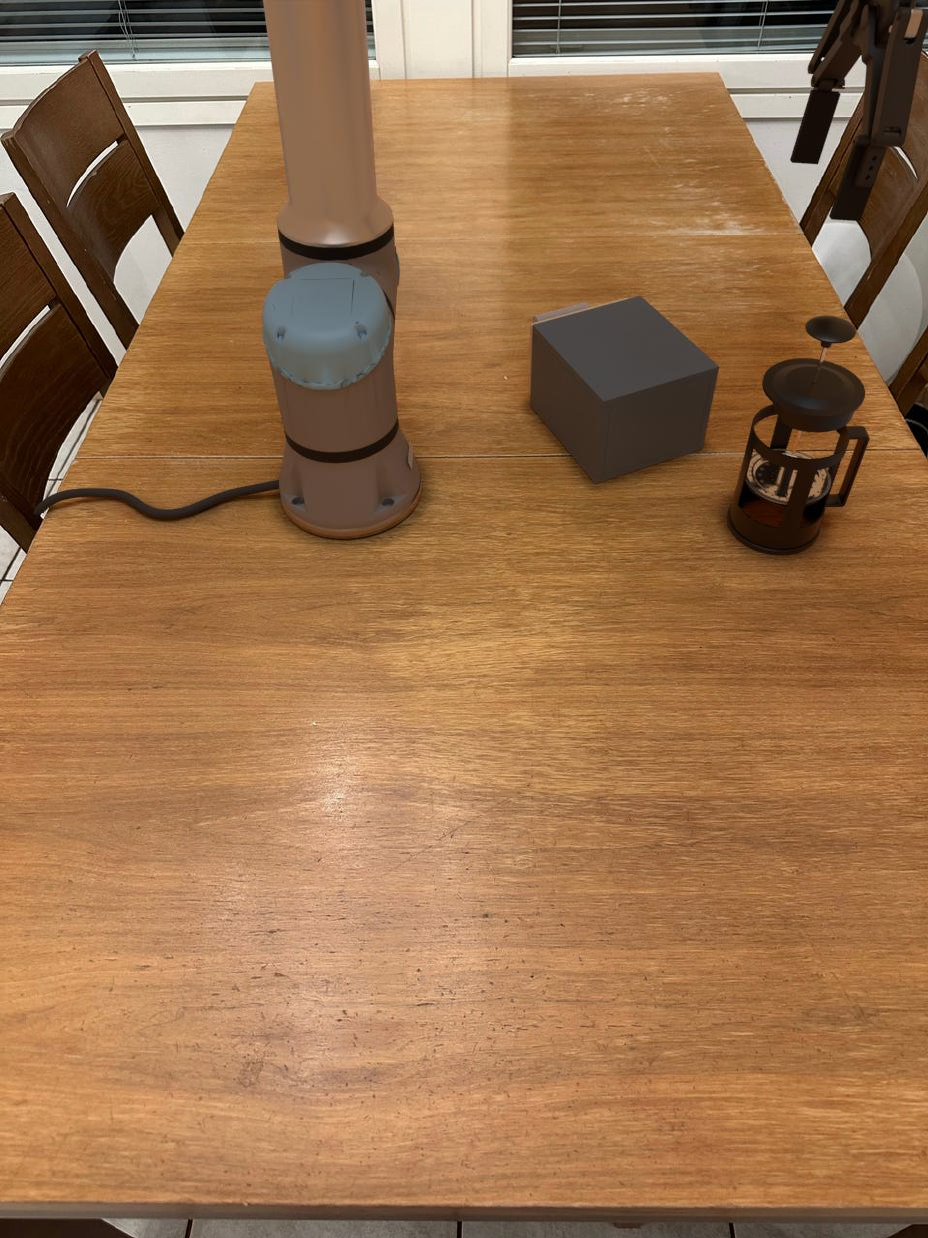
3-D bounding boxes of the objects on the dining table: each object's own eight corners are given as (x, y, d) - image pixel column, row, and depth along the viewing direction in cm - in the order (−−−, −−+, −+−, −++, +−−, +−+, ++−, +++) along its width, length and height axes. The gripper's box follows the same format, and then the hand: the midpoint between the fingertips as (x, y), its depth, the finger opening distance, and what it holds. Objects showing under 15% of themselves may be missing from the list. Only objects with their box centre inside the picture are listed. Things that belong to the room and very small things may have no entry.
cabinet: (529, 405, 112) (532, 324, 104) (630, 375, 116) (640, 294, 108) (595, 484, 103) (603, 401, 95) (702, 449, 106) (719, 366, 98)
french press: (727, 555, 95) (779, 356, 78) (713, 493, 101) (758, 296, 84) (846, 555, 95) (924, 355, 77) (824, 493, 101) (892, 295, 84)
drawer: (510, 369, 116) (511, 303, 109) (600, 343, 119) (606, 277, 112) (587, 460, 104) (593, 392, 97) (685, 429, 107) (697, 361, 100)
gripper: (1025, -44, 67) (906, 248, 82) (904, -107, 85) (824, 143, 100) (923, -52, 67) (822, 243, 82) (822, -114, 84) (754, 139, 99)
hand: (823, 189), depth 91 cm, fingers open, 13 cm apart
